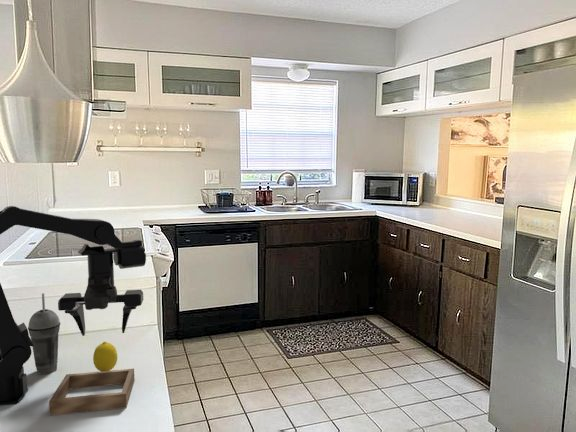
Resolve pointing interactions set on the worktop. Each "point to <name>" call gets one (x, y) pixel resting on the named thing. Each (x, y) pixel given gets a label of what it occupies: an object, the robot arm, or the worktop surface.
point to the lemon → (105, 357)
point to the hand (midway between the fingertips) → (103, 334)
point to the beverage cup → (44, 339)
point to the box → (92, 402)
